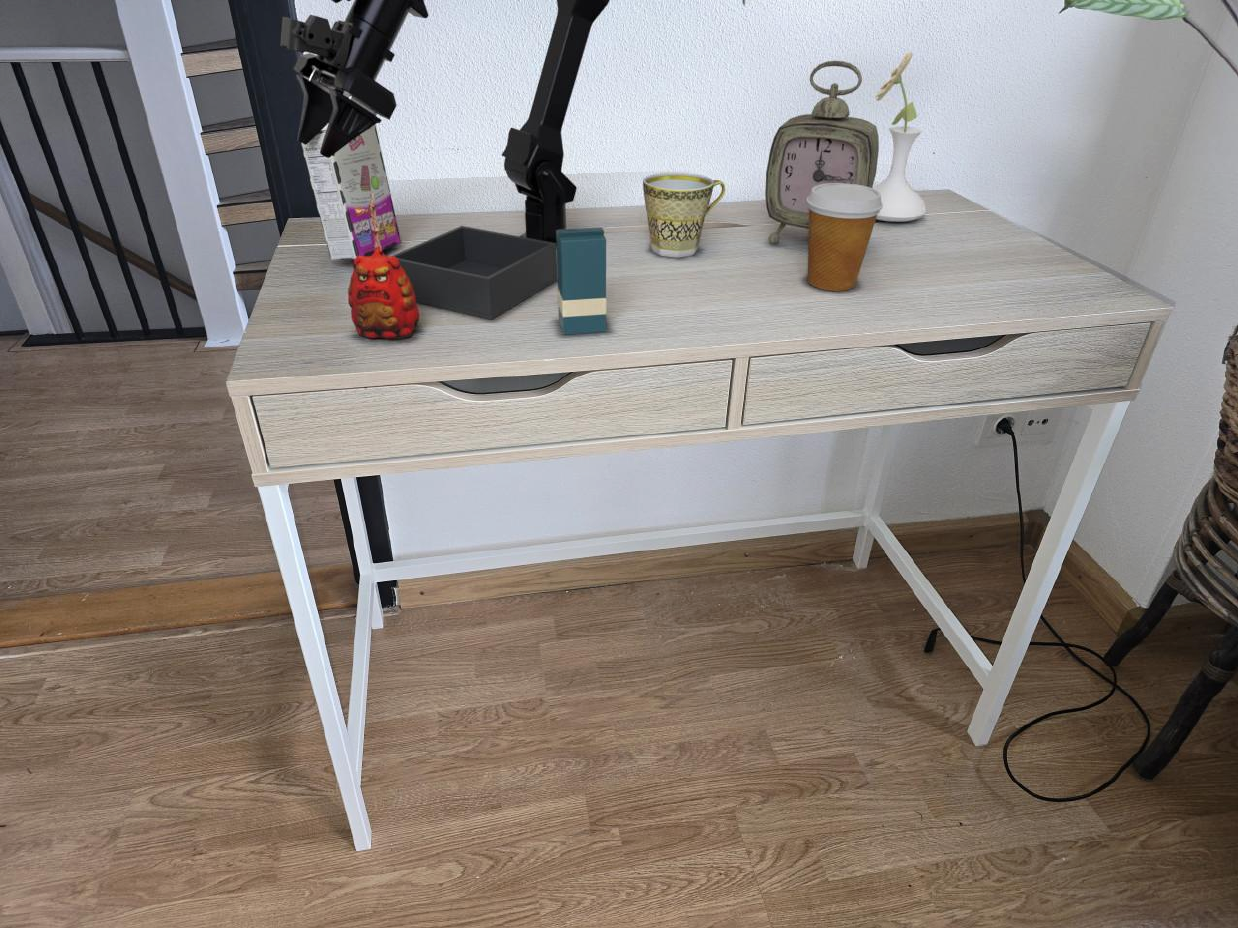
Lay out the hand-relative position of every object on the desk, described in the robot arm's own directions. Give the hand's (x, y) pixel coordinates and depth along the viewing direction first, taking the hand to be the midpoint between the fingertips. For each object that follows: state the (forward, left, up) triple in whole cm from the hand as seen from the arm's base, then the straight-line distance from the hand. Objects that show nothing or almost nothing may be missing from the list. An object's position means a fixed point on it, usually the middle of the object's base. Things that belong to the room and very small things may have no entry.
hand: (312, 149), depth 99 cm
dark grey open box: (-7, +18, -17) cm, 25 cm away
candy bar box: (-9, -2, -16) cm, 18 cm away
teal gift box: (-3, +36, -17) cm, 40 cm away
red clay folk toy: (+9, +17, -17) cm, 26 cm away
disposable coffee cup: (-32, +58, -17) cm, 68 cm away
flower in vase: (-66, +58, -17) cm, 89 cm away
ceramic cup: (-35, +35, -17) cm, 52 cm away
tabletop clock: (-47, +51, -17) cm, 71 cm away
